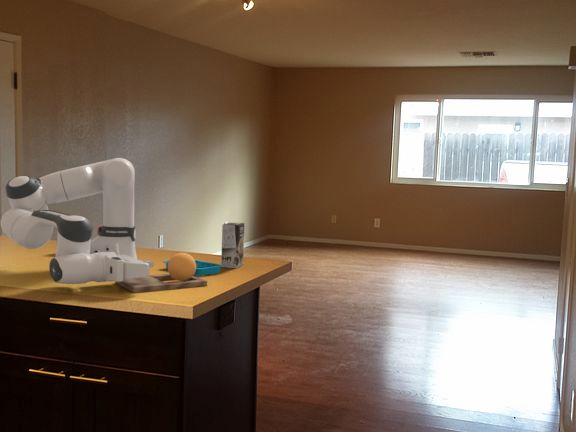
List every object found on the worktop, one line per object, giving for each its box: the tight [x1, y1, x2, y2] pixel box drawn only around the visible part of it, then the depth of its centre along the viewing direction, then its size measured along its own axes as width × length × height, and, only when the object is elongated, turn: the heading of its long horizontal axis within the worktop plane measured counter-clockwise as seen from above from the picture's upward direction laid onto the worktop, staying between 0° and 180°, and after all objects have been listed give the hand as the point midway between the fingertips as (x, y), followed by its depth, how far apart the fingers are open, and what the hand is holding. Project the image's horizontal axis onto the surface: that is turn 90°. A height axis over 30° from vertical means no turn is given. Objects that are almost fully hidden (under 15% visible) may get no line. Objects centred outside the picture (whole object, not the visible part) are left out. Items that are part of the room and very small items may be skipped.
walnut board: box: [114, 273, 208, 293], centre depth 199 cm, size 24×16×2 cm, turn 124°
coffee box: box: [220, 222, 245, 269], centre depth 236 cm, size 9×6×16 cm
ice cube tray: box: [163, 259, 223, 277], centre depth 225 cm, size 12×20×3 cm, turn 50°
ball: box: [167, 252, 196, 282], centre depth 203 cm, size 9×9×9 cm
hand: (152, 263), depth 197 cm, fingers closed
